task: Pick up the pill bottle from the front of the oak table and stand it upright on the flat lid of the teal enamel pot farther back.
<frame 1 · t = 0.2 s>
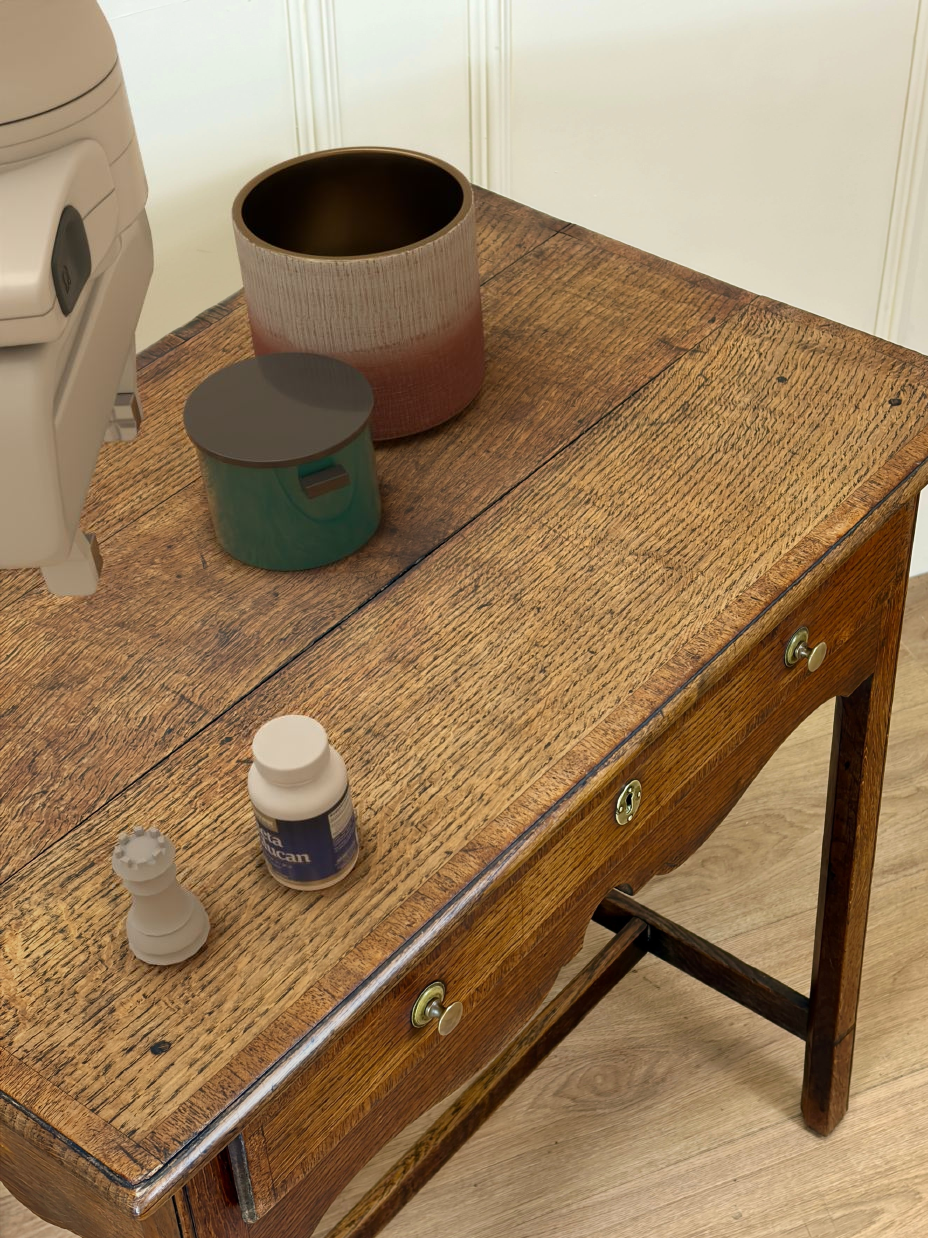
hand: (101, 503, 58), 31 cm above the table, tool pointing down, fingers open, 8 cm apart
pill bottle: (313, 858, 85), on the table
rook chess piece: (171, 938, 81), on the table
planter: (375, 388, 118), on the table
pot: (298, 516, 107), on the table
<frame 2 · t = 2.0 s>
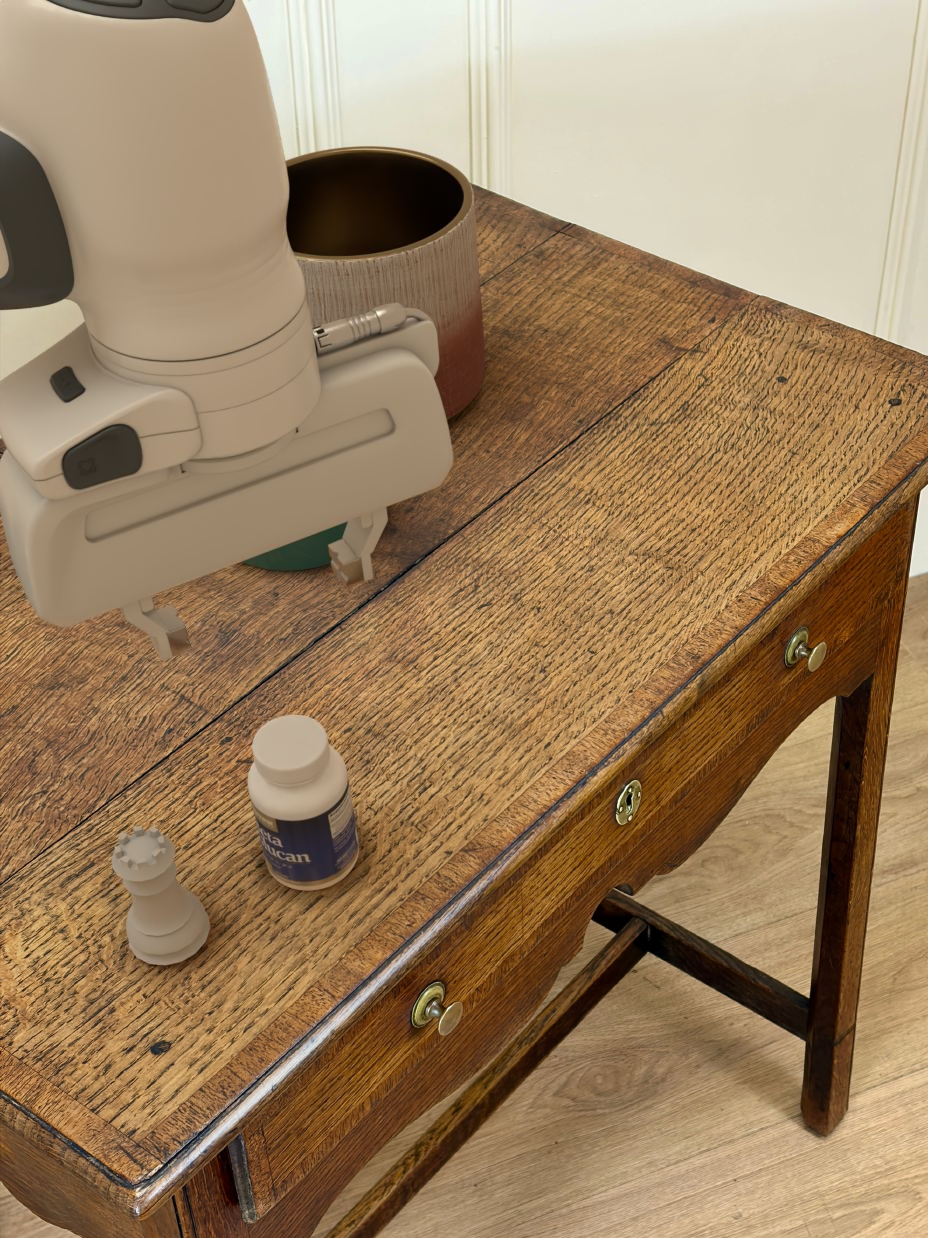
hand: (264, 612, 71), 19 cm above the table, tool pointing down, fingers open, 8 cm apart
nothing on the table moved.
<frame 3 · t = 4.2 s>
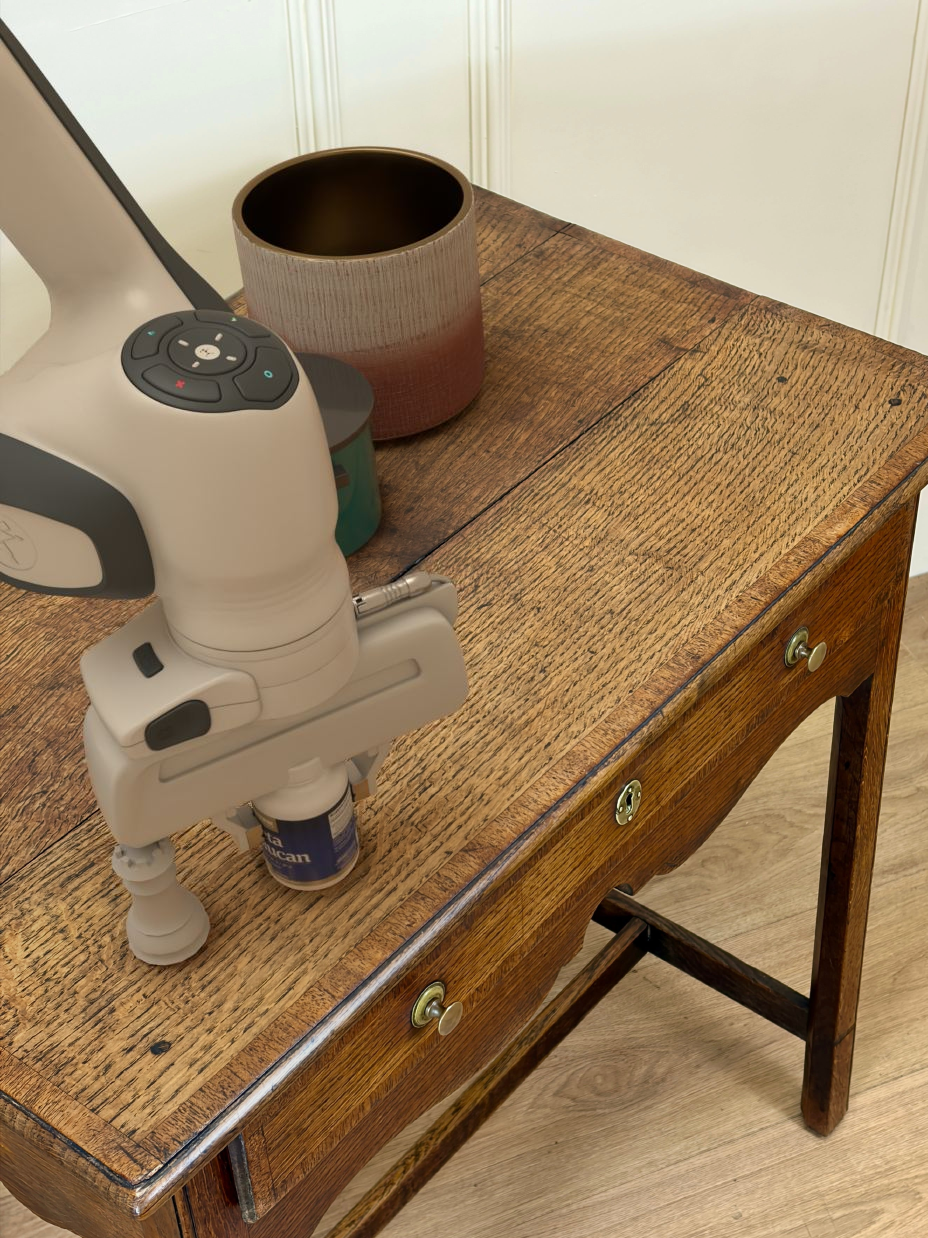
hand: (304, 815, 82), 4 cm above the table, tool pointing down, fingers closed on pill bottle, 5 cm apart
pill bottle: (313, 858, 85), on the table, touching gripper
everything else where it was.
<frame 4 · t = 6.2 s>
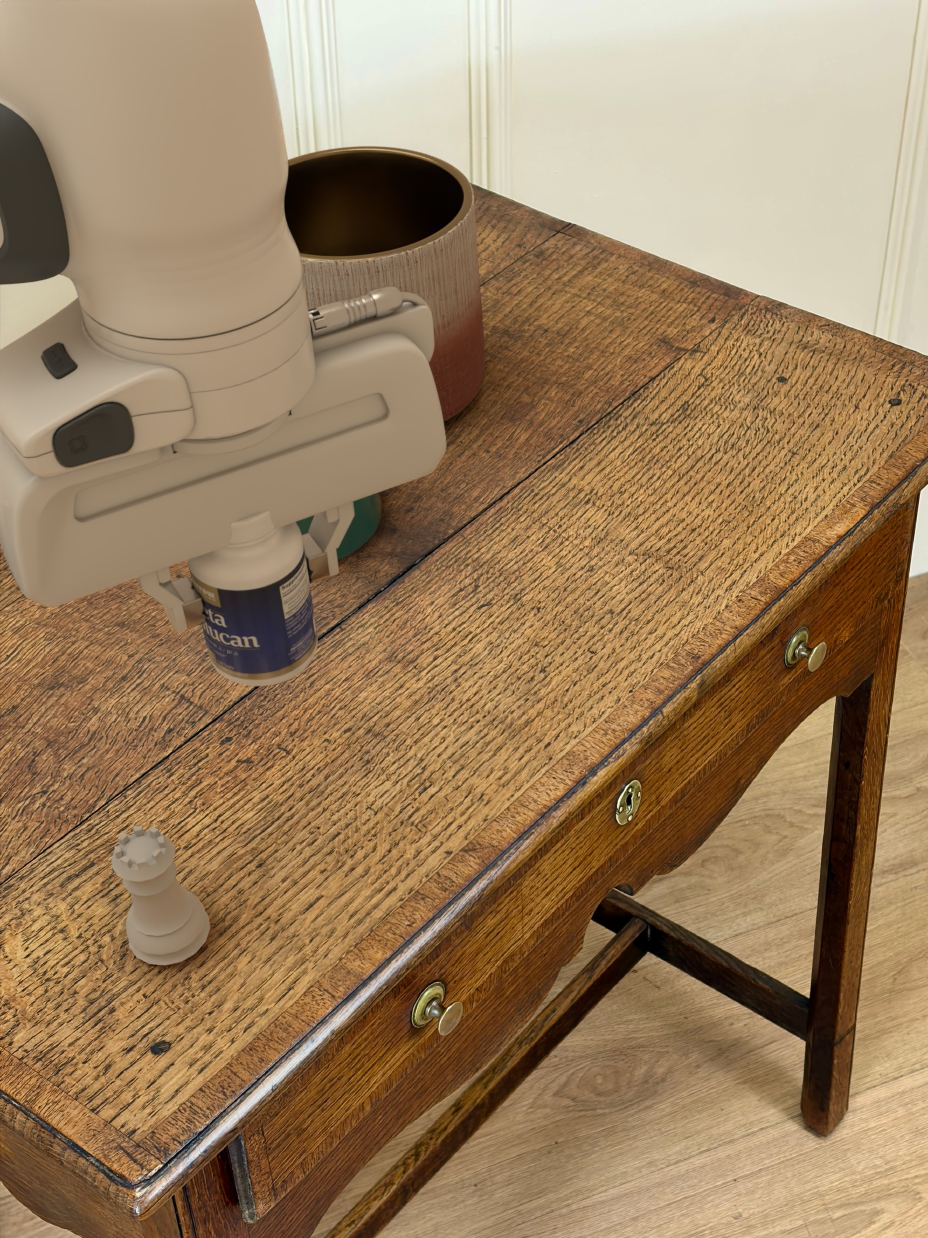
hand: (252, 596, 71), 20 cm above the table, tool pointing down, fingers closed on pill bottle, 5 cm apart
pill bottle: (265, 654, 73), point 16 cm above the table, touching gripper
everything else where it was.
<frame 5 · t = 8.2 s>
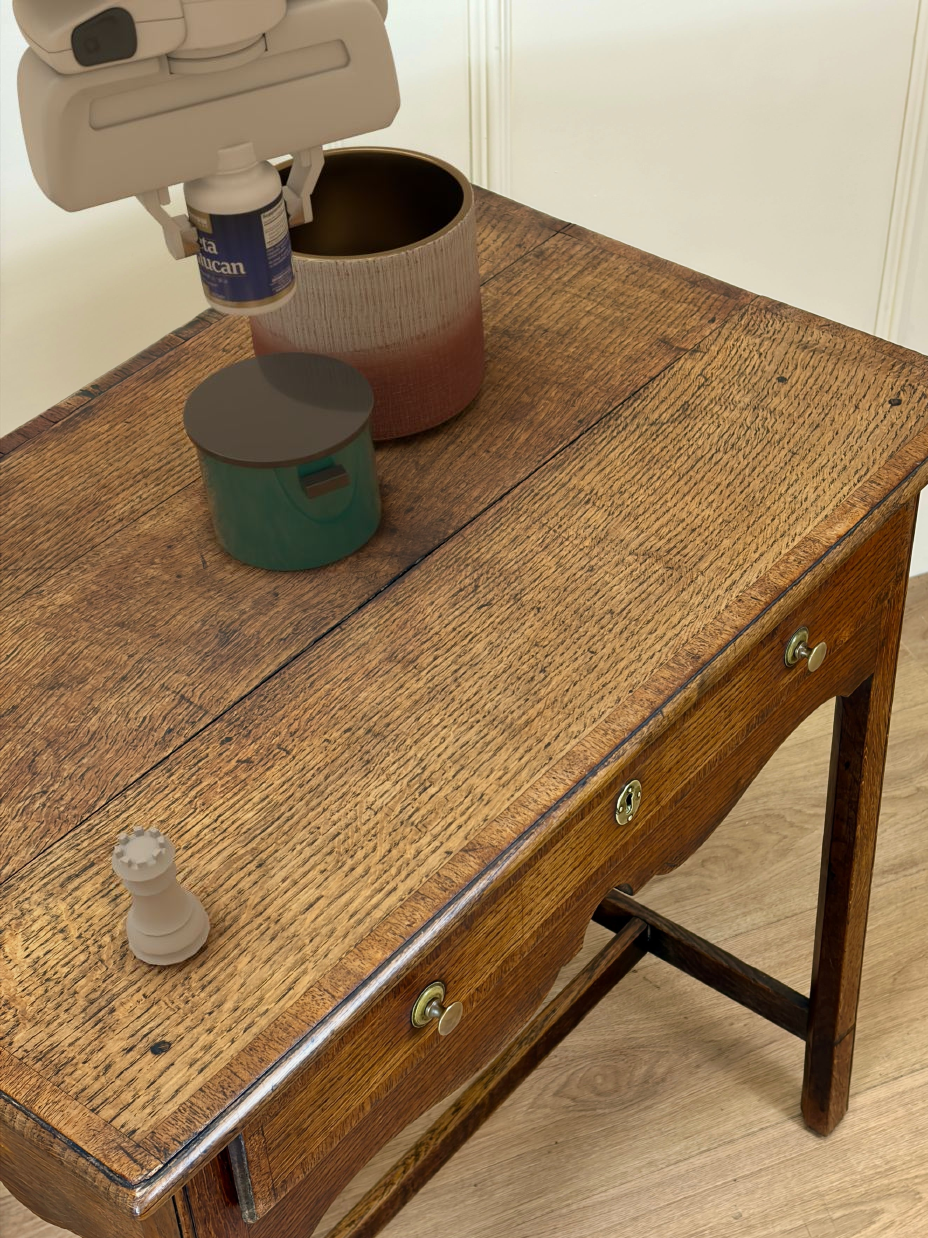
hand: (240, 237, 84), 25 cm above the table, tool pointing down, fingers closed on pill bottle, 5 cm apart
pill bottle: (251, 297, 87), point 21 cm above the table, touching gripper
everything else where it was.
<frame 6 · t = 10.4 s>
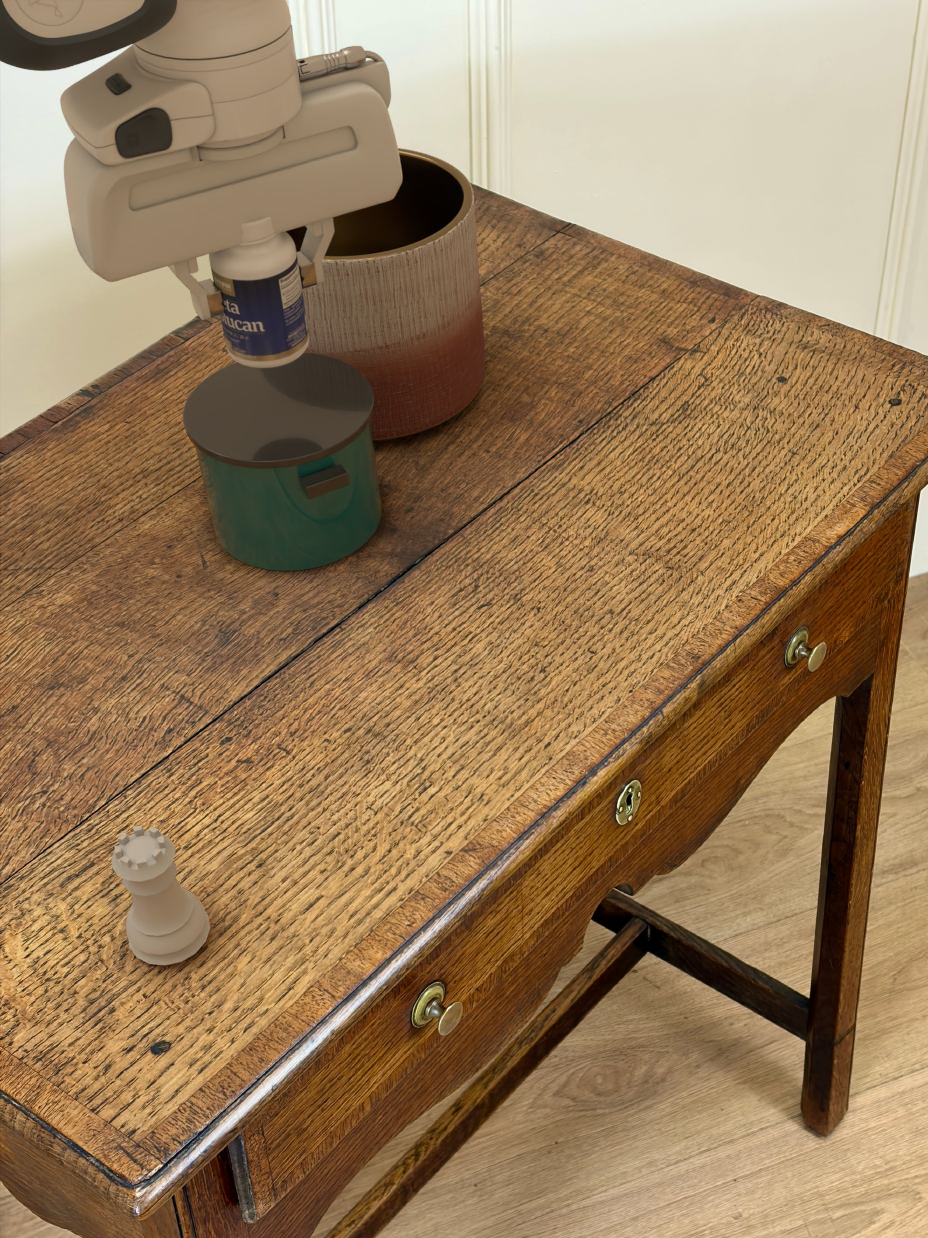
hand: (259, 298, 94), 18 cm above the table, tool pointing down, fingers closed on pill bottle, 5 cm apart
pill bottle: (269, 350, 97), point 14 cm above the table, touching gripper
everything else where it was.
when the fingers open (13 cm above the table, at t = 12.1 s): pill bottle stays where it is, resting on pot.
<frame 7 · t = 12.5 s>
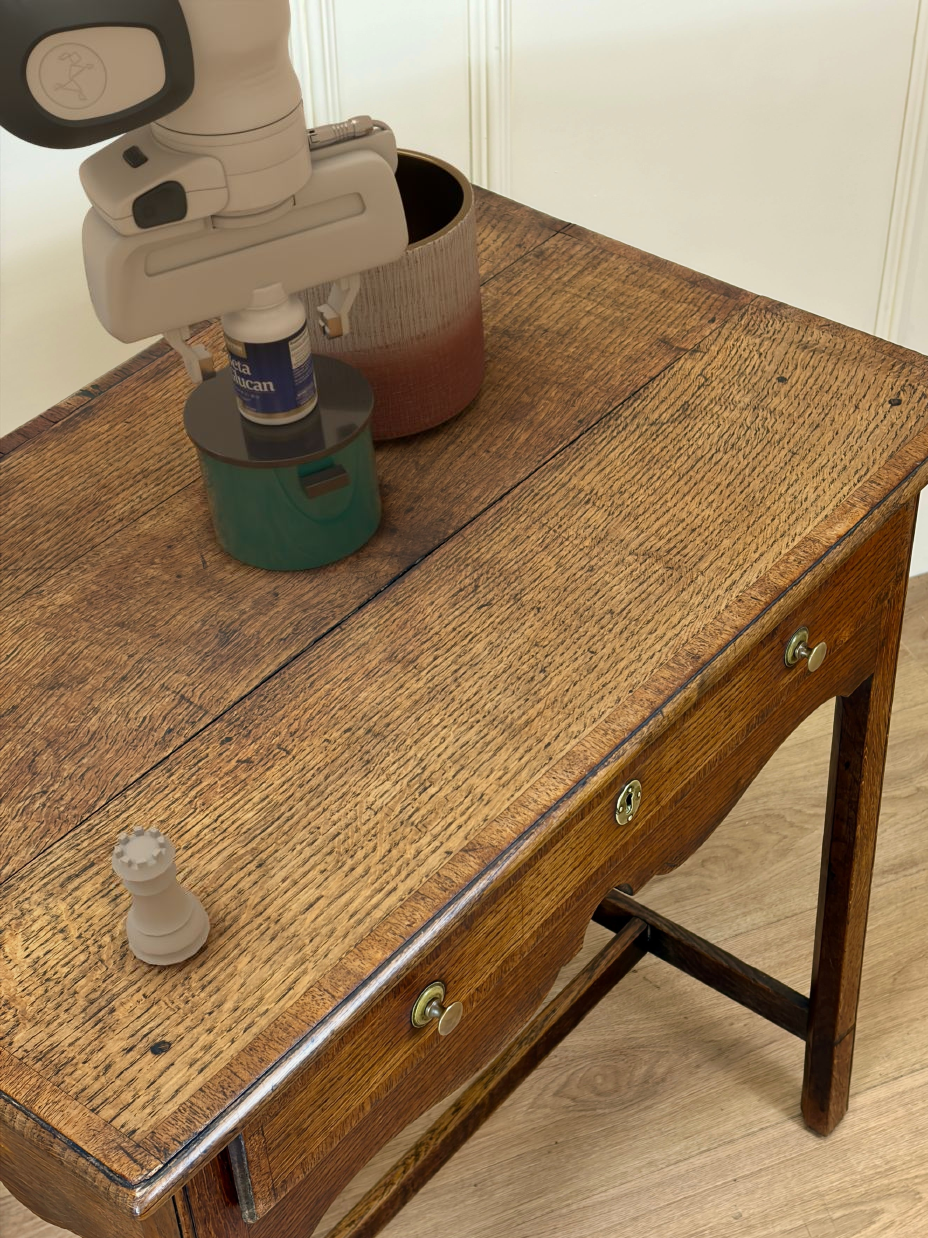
hand: (269, 354, 97), 13 cm above the table, tool pointing down, fingers open, 8 cm apart
pill bottle: (278, 407, 100), point 9 cm above the table, touching pot
everything else where it was.
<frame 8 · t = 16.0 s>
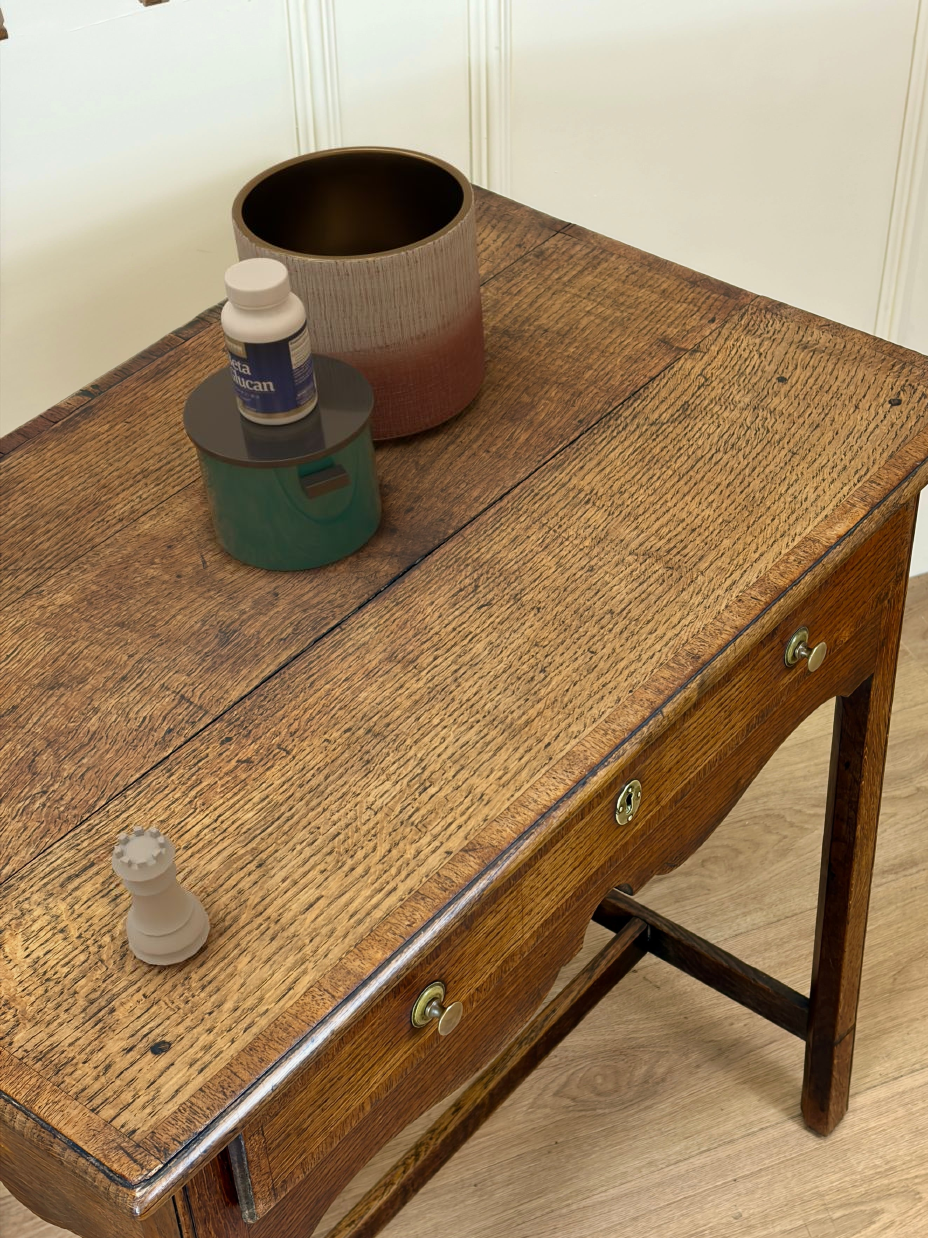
hand: (74, 20, 84), 34 cm above the table, tool pointing down, fingers open, 8 cm apart
nothing on the table moved.
at the end: pill bottle inside the target area on the pot (0.0 cm from its centre), point 9.4 cm above the pot's base; pill bottle tilted 0°; the gripper is holding nothing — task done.
